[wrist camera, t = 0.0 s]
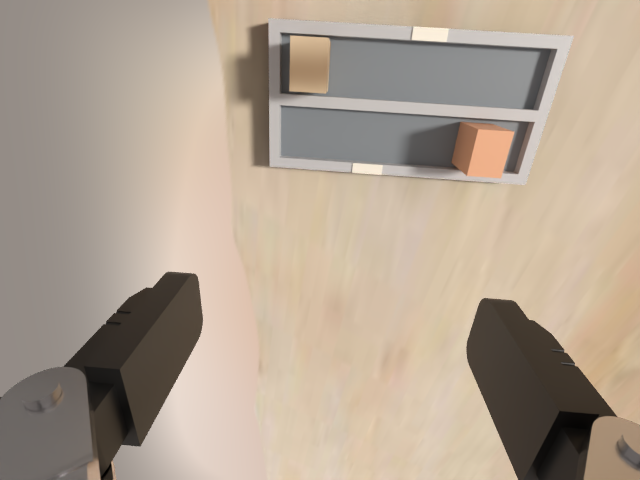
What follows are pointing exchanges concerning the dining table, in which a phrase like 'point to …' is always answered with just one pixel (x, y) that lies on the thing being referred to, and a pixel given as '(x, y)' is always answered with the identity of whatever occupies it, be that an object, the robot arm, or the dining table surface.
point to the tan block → (309, 64)
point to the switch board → (410, 97)
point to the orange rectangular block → (482, 149)
